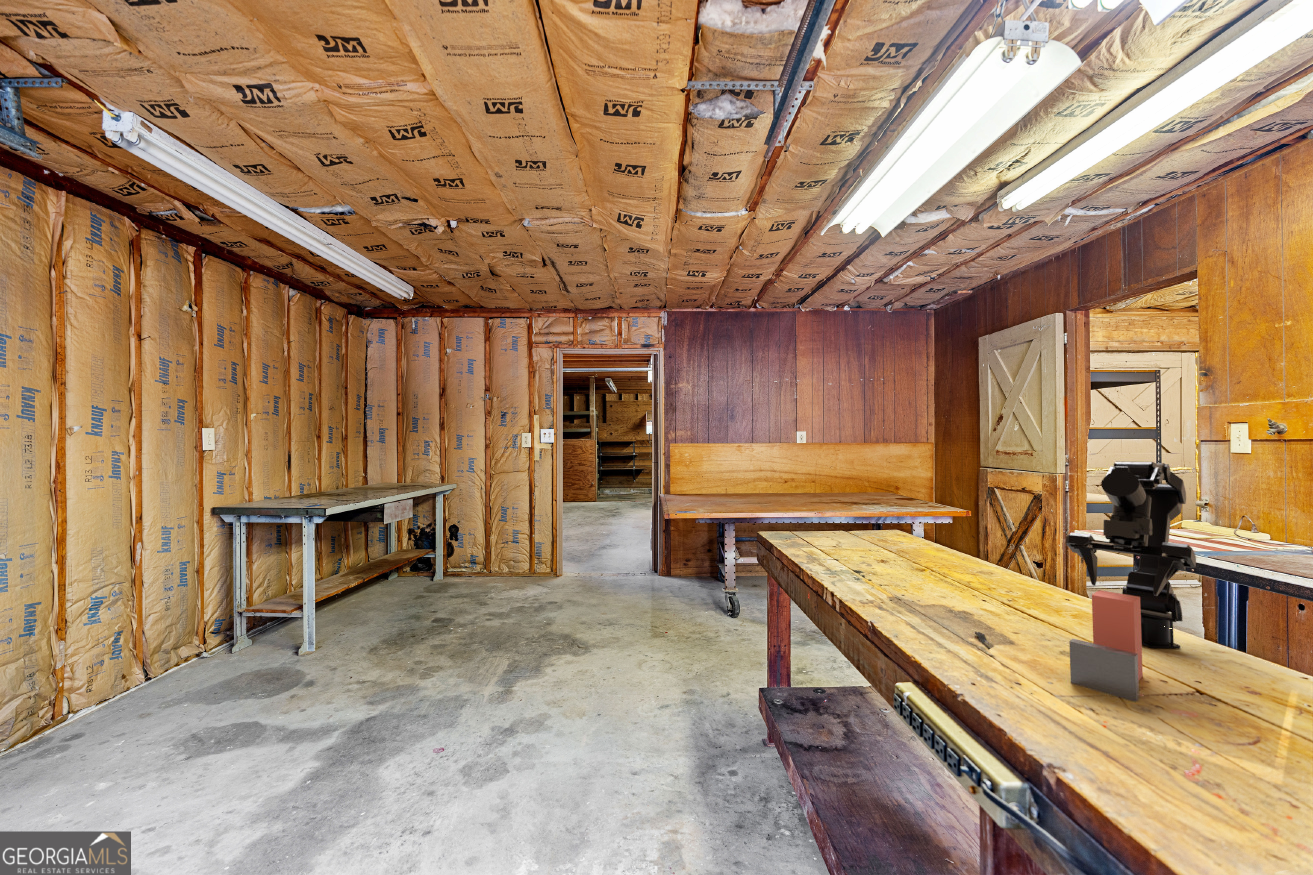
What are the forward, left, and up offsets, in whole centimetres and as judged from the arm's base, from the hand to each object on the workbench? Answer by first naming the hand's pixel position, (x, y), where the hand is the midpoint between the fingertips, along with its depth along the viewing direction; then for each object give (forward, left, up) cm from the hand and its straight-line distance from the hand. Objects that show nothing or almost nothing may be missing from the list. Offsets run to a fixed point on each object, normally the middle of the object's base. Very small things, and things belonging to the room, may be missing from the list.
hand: (1123, 589), depth 101 cm
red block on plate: (+4, +3, -15) cm, 16 cm away
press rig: (+7, +6, -16) cm, 19 cm away
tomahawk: (+18, -9, -17) cm, 26 cm away
